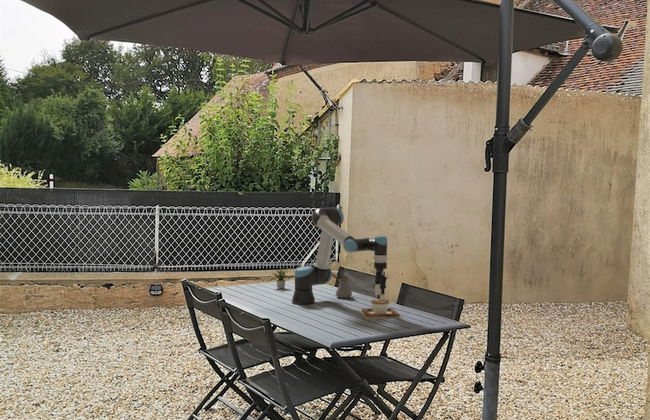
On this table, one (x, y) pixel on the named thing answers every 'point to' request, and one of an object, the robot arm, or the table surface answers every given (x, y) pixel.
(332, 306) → the table surface
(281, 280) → the house plant
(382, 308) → the lidded jar
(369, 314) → the wooden square tray
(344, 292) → the coffee pot
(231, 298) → the table surface
